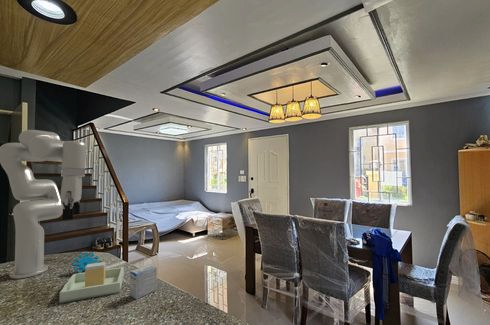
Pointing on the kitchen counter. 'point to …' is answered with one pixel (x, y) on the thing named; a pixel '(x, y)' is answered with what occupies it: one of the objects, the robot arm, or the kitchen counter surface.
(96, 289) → the parts tray
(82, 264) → the gear
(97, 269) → the tan and white block
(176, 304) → the kitchen counter surface
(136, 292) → the medicine box
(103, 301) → the kitchen counter surface
